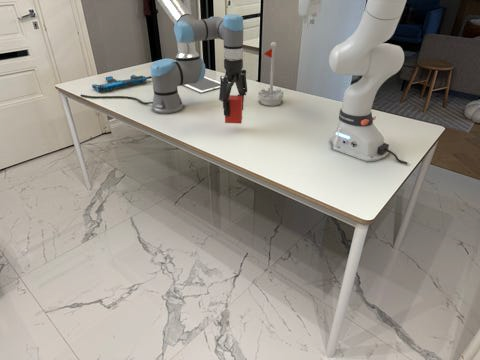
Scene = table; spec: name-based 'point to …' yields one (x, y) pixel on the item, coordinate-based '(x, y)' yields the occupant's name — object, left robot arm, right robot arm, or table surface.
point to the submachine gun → (119, 83)
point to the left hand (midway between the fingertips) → (233, 112)
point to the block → (235, 110)
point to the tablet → (204, 85)
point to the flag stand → (271, 84)
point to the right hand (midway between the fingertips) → (308, 25)
